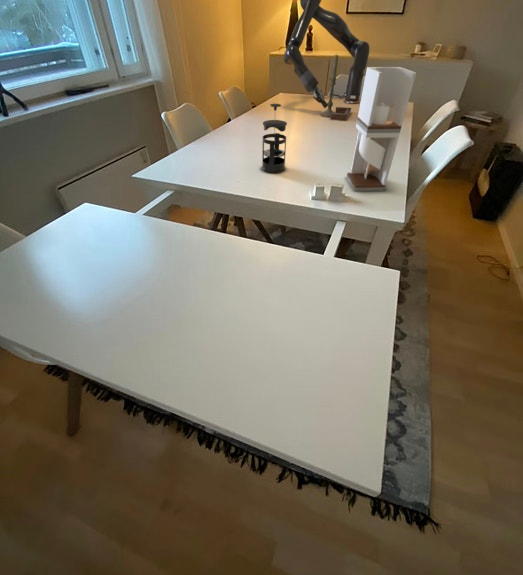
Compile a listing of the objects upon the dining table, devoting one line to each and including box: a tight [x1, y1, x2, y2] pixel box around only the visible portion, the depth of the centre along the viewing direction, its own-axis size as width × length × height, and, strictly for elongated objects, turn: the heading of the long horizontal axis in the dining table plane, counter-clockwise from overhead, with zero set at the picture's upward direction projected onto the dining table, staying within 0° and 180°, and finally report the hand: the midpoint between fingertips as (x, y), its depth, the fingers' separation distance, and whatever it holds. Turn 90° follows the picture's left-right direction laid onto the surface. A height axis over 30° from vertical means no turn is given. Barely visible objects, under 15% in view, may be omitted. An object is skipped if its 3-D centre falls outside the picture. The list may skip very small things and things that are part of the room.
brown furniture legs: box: [330, 106, 352, 122], centre depth 188 cm, size 9×18×3 cm, turn 160°
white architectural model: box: [346, 66, 417, 192], centre depth 105 cm, size 11×11×35 cm
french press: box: [261, 103, 288, 174], centre depth 120 cm, size 12×9×23 cm
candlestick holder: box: [320, 54, 339, 118], centre depth 181 cm, size 9×9×30 cm
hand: (326, 106), depth 189 cm, fingers closed
